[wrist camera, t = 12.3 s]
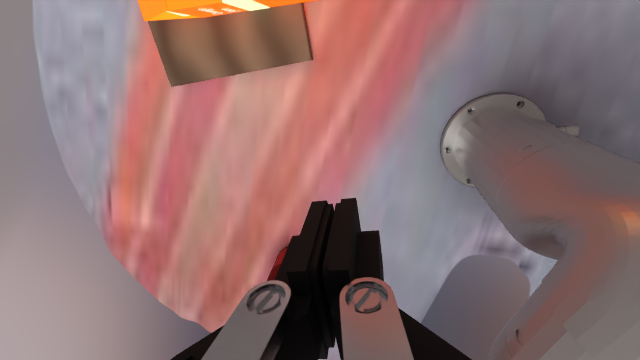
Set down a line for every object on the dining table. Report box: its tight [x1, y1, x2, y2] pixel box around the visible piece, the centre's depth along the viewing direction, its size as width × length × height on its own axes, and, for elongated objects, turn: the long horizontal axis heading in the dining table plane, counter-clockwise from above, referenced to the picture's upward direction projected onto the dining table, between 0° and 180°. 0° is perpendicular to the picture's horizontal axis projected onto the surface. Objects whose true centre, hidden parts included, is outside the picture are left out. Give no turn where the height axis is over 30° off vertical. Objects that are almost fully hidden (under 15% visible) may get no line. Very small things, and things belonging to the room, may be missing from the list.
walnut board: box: [148, 2, 313, 87], centre depth 37 cm, size 20×16×2 cm
